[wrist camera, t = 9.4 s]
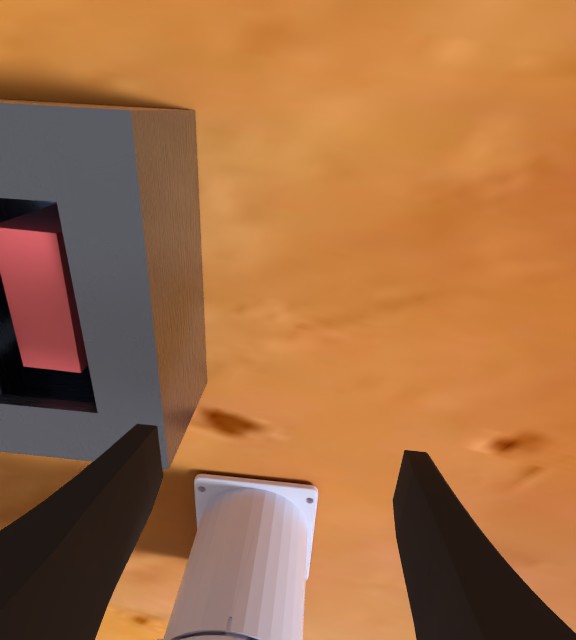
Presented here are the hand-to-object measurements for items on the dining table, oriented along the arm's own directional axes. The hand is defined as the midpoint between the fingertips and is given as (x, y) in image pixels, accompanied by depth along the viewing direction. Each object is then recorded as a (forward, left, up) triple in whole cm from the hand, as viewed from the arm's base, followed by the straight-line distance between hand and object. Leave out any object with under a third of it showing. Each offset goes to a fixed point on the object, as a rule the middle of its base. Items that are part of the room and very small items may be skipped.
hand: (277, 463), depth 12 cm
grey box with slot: (+2, +10, -10) cm, 15 cm away
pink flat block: (+2, +10, -10) cm, 14 cm away
